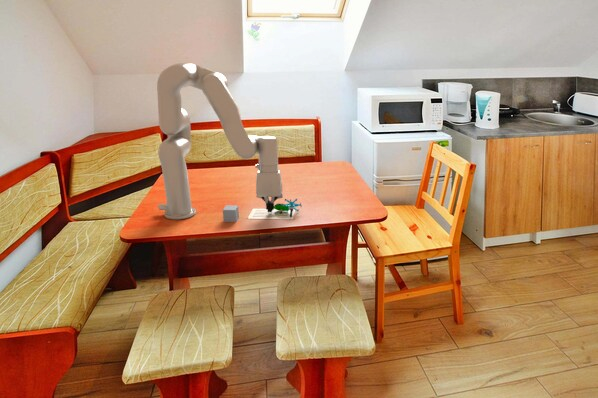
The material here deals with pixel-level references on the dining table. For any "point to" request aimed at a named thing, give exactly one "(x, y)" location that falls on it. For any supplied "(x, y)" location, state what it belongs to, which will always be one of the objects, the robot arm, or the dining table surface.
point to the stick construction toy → (287, 206)
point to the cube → (230, 213)
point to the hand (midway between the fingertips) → (270, 211)
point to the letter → (270, 214)
